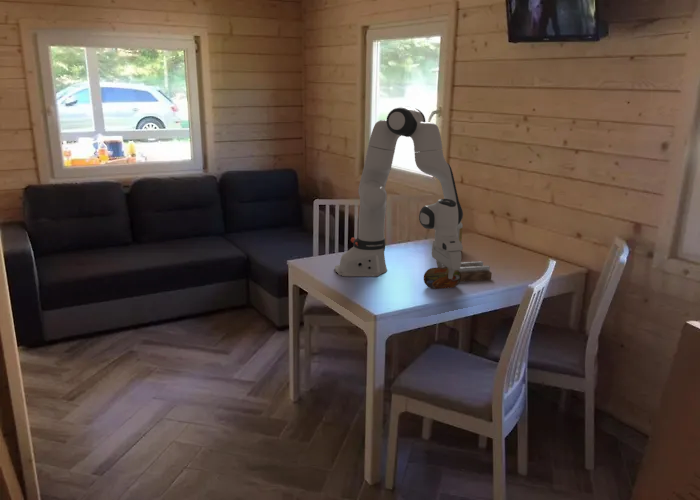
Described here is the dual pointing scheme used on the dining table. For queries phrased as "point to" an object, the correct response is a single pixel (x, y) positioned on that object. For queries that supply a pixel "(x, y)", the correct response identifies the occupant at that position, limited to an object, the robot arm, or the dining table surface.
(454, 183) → the robot arm
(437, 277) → the tin
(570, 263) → the dining table surface
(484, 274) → the dock
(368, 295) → the dining table surface
